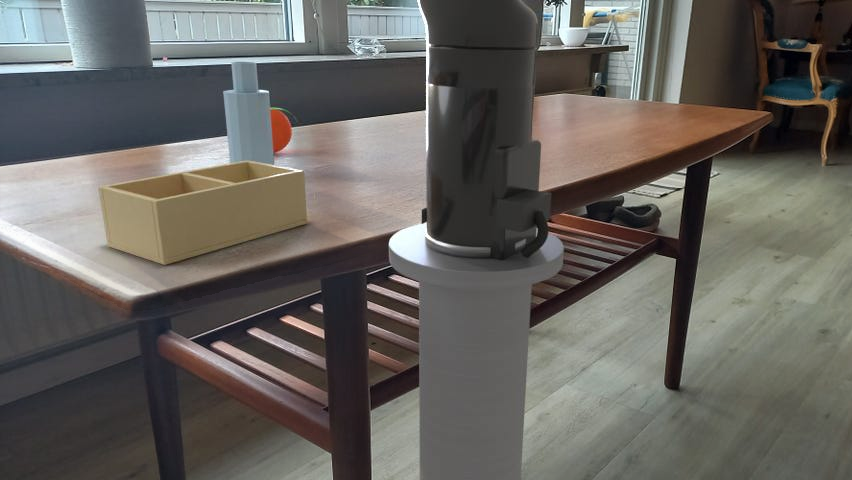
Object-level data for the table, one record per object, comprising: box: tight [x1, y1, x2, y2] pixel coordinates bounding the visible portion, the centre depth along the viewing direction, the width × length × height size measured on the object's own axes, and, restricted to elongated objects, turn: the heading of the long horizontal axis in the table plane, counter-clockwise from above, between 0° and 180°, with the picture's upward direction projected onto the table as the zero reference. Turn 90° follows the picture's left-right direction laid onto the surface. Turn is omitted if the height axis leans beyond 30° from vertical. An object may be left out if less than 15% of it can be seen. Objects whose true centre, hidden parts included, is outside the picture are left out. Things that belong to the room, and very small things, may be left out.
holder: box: [97, 160, 308, 266], centre depth 65 cm, size 8×16×6 cm, turn 147°
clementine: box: [270, 107, 298, 154], centre depth 106 cm, size 8×7×7 cm
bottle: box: [222, 61, 275, 165], centre depth 87 cm, size 5×6×14 cm
